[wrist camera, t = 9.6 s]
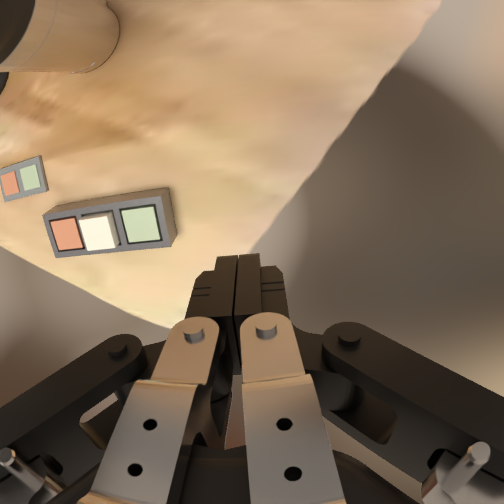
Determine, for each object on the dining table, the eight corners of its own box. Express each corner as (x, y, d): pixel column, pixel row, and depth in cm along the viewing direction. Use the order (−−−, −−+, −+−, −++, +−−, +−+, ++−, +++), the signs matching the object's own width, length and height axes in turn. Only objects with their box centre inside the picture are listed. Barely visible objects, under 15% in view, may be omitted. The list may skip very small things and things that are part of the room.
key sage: (128, 204, 37) (121, 210, 35) (158, 200, 37) (153, 206, 35) (135, 234, 39) (129, 242, 37) (164, 231, 39) (159, 239, 37)
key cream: (87, 213, 36) (78, 220, 34) (114, 209, 36) (106, 216, 34) (95, 242, 38) (87, 250, 36) (122, 239, 38) (115, 248, 36)
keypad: (55, 206, 38) (42, 215, 35) (168, 187, 38) (160, 195, 35) (67, 246, 41) (55, 258, 38) (177, 234, 40) (170, 246, 37)
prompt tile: (-1, 169, 36) (-4, 170, 35) (40, 155, 35) (37, 156, 34) (7, 200, 38) (4, 202, 37) (48, 190, 37) (45, 192, 37)
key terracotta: (59, 215, 38) (50, 222, 36) (82, 211, 38) (74, 218, 36) (67, 242, 40) (59, 250, 37) (90, 239, 39) (82, 247, 37)
